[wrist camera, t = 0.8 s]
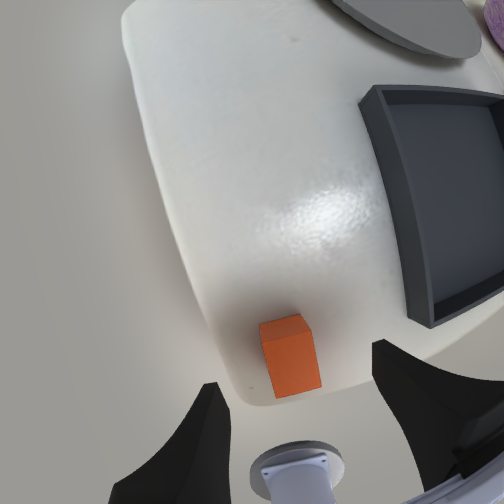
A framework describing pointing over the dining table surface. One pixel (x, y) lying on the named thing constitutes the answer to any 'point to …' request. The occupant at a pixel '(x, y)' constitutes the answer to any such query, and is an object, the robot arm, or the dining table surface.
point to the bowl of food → (495, 20)
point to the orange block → (290, 356)
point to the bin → (442, 192)
